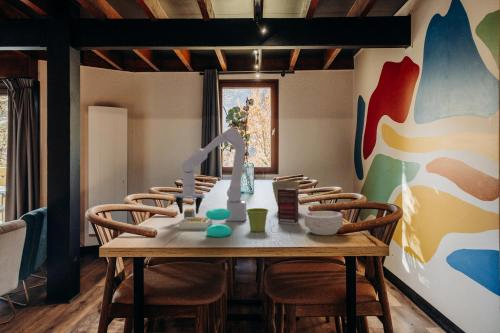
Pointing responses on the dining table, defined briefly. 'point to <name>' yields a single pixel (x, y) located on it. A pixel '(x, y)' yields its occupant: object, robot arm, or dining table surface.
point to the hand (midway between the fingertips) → (189, 213)
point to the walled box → (195, 223)
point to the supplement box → (288, 206)
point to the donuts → (218, 229)
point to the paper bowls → (323, 222)
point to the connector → (189, 213)
